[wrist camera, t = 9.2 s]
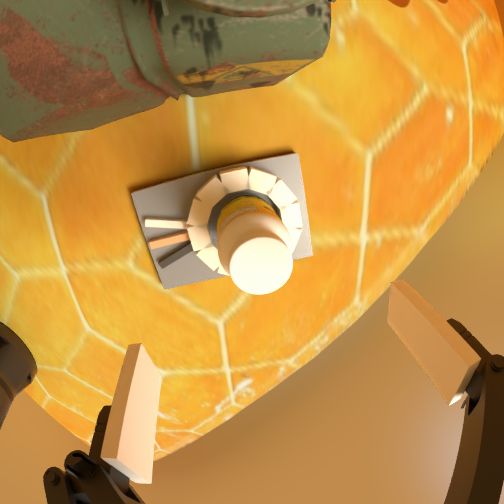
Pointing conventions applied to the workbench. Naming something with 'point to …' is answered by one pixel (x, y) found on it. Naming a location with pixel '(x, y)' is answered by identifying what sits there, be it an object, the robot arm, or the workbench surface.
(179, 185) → the junction plate
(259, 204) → the pill bottle
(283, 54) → the fuel can
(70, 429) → the workbench surface
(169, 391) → the workbench surface
